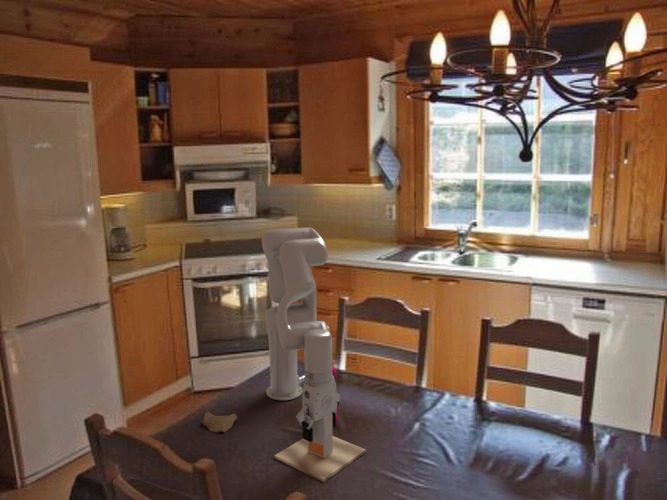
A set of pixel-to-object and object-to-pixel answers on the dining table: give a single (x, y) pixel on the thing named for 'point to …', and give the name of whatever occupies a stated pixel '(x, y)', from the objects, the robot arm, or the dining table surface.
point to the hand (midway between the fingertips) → (319, 432)
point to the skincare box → (321, 437)
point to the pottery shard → (218, 422)
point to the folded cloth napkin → (320, 458)
